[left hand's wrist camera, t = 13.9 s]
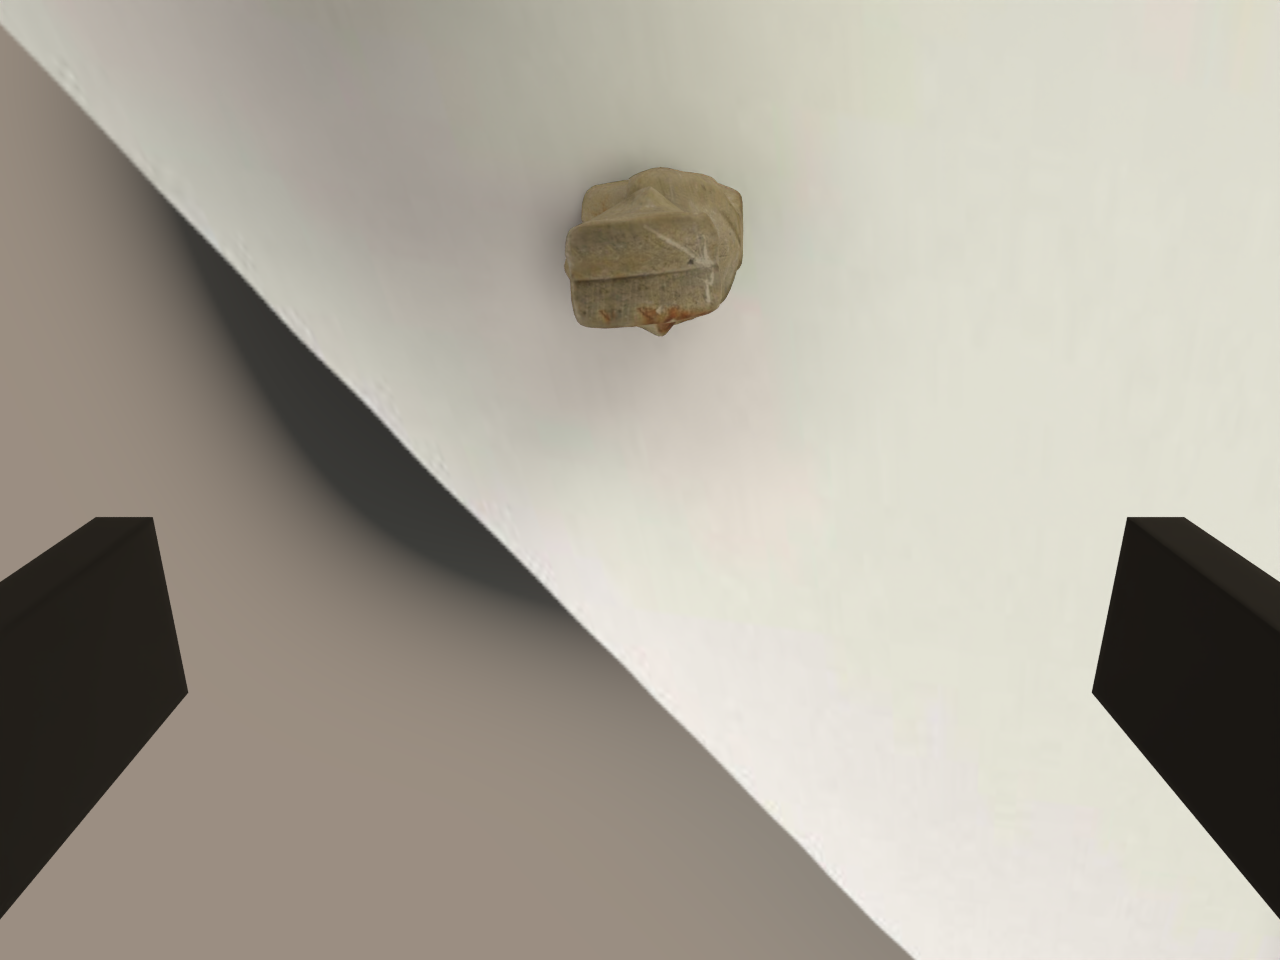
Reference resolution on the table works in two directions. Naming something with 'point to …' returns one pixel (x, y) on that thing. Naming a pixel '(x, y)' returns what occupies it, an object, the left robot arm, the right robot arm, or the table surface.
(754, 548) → the table surface
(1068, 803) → the table surface
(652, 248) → the sculpture
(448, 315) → the table surface
